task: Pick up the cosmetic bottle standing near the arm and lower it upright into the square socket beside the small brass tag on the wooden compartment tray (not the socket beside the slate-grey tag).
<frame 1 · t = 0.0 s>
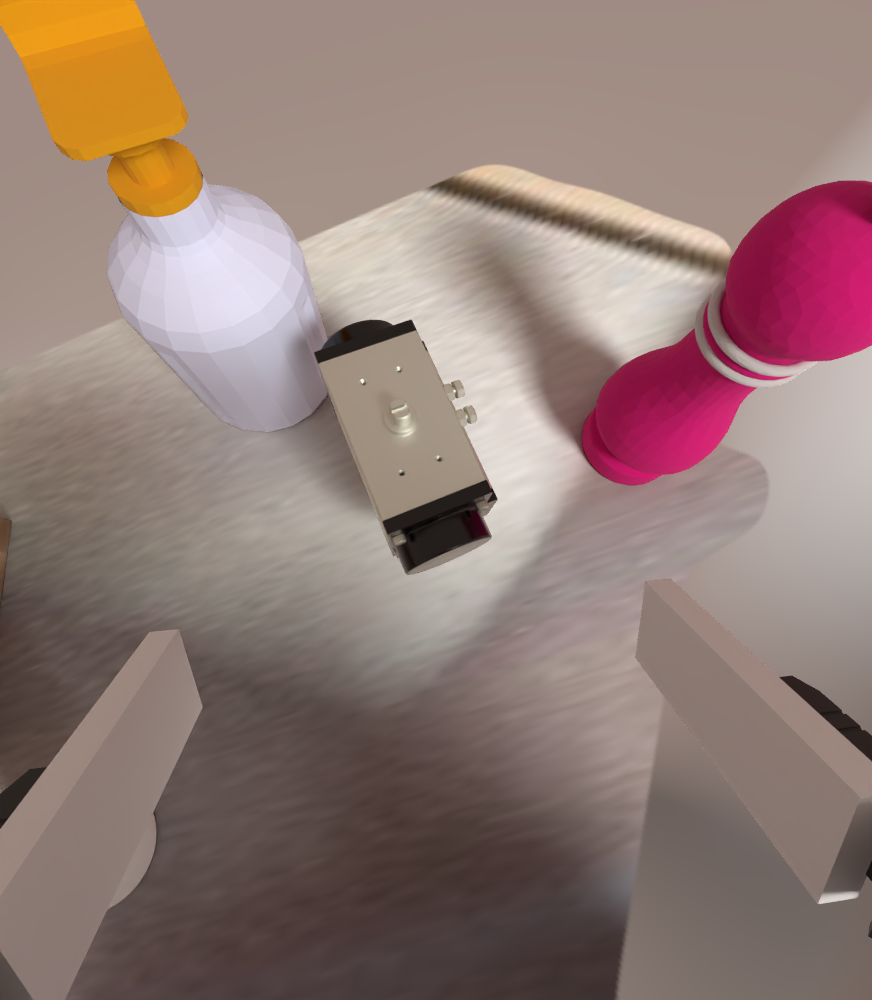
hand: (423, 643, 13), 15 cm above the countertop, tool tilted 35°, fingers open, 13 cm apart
soap bottle: (269, 375, 32), on the countertop
cosmetic bottle: (101, 841, 25), on the countertop
pepper mill: (624, 443, 32), on the countertop
pneumatic valve: (410, 489, 31), on the countertop
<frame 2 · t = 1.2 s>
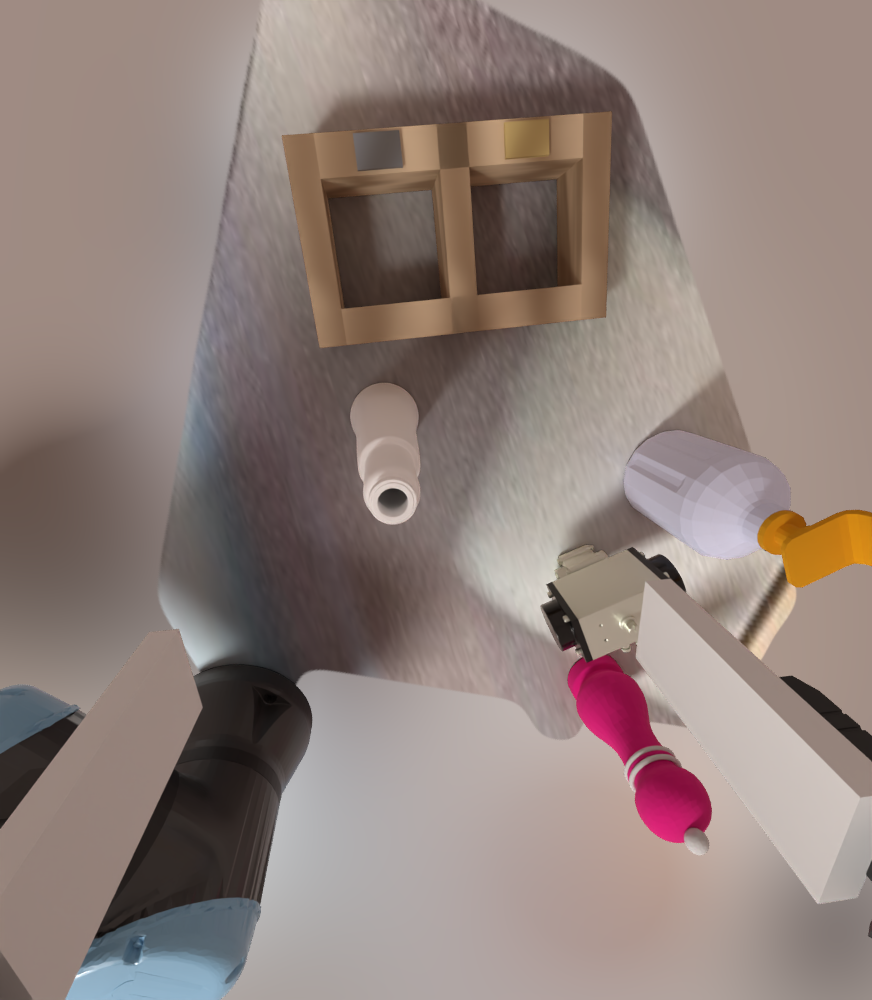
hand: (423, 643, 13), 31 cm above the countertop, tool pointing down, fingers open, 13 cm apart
soap bottle: (663, 472, 47), on the countertop
cosmetic bottle: (384, 416, 42), on the countertop
pepper mill: (591, 673, 55), on the countertop
wooden compartment tray: (449, 246, 38), on the countertop
pneumatic valve: (576, 564, 50), on the countertop
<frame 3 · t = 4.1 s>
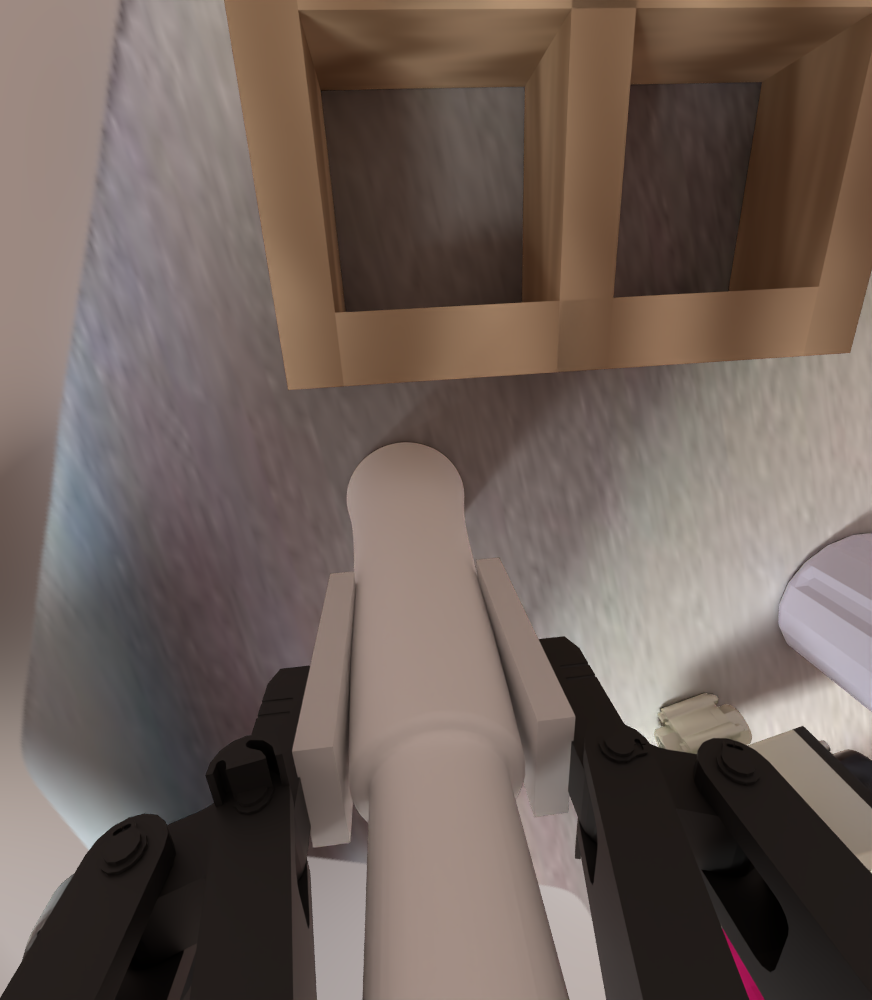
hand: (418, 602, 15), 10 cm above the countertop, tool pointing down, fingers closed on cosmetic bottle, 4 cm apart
soap bottle: (839, 592, 30), on the countertop
cosmetic bottle: (405, 496, 24), on the countertop, touching gripper
pepper mill: (682, 854, 38), on the countertop
wooden compartment tray: (546, 202, 20), on the countertop
pneumatic valve: (684, 717, 32), on the countertop
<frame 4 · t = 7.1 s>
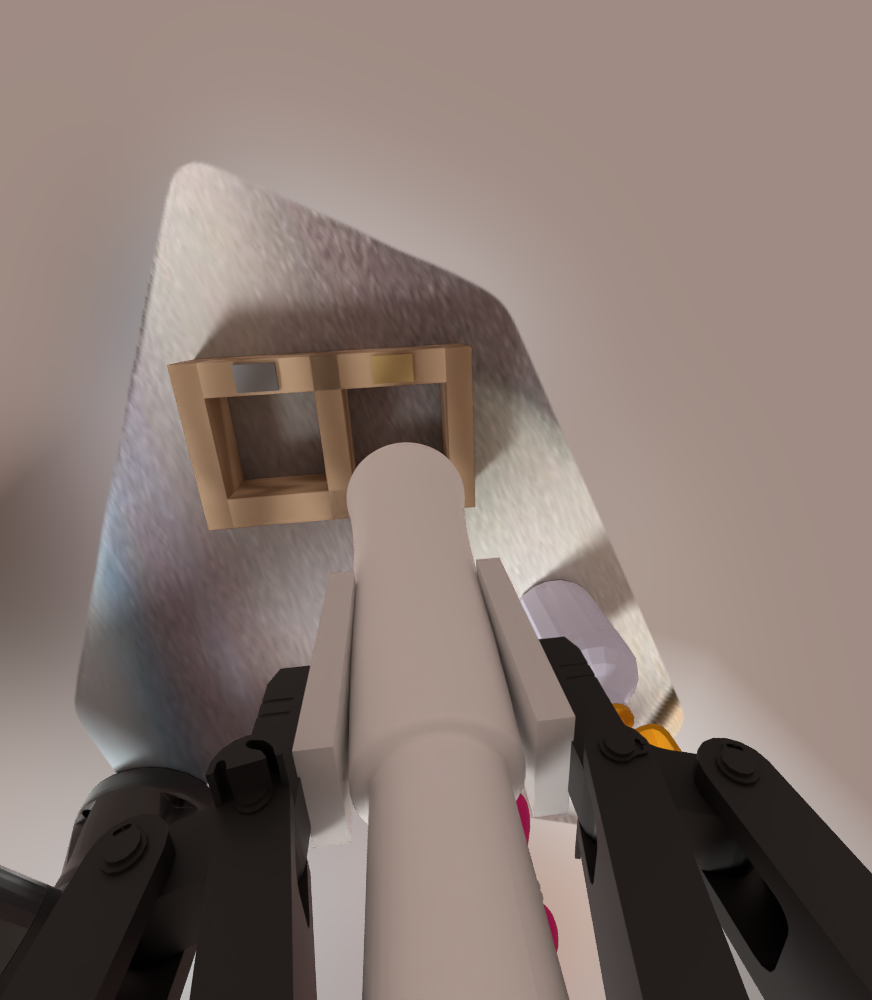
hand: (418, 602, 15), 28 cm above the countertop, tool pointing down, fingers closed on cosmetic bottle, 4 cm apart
soap bottle: (551, 613, 51), on the countertop
cosmetic bottle: (405, 496, 24), point 18 cm above the countertop, touching gripper
pepper mill: (490, 779, 59), on the countertop
wooden compartment tray: (340, 428, 41), on the countertop
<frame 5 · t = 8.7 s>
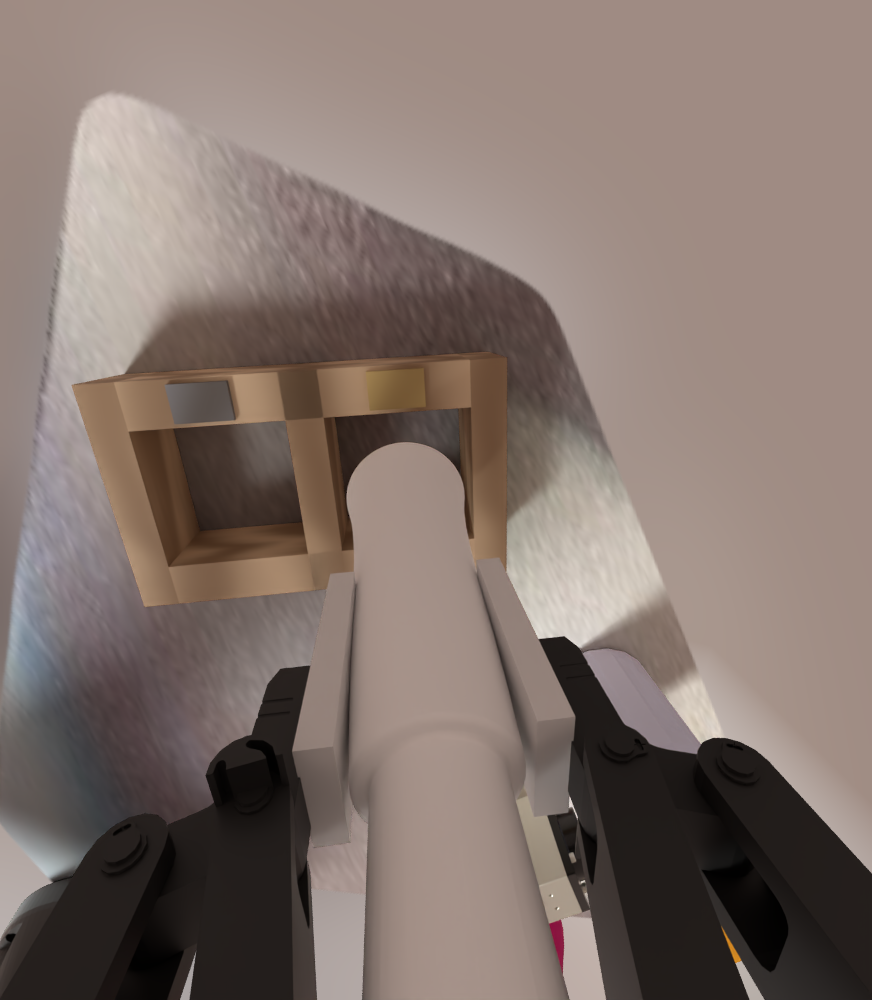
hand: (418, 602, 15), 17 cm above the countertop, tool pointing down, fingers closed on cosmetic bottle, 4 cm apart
soap bottle: (592, 686, 41), on the countertop
cosmetic bottle: (405, 496, 24), point 8 cm above the countertop, touching gripper
pepper mill: (512, 874, 49), on the countertop
wooden compartment tray: (325, 464, 31), on the countertop
pneumatic valve: (492, 774, 43), on the countertop
when the fingers open (12 cm above the countertop, at t = 10.1 s): cosmetic bottle drops 2 cm, resting in wooden compartment tray.
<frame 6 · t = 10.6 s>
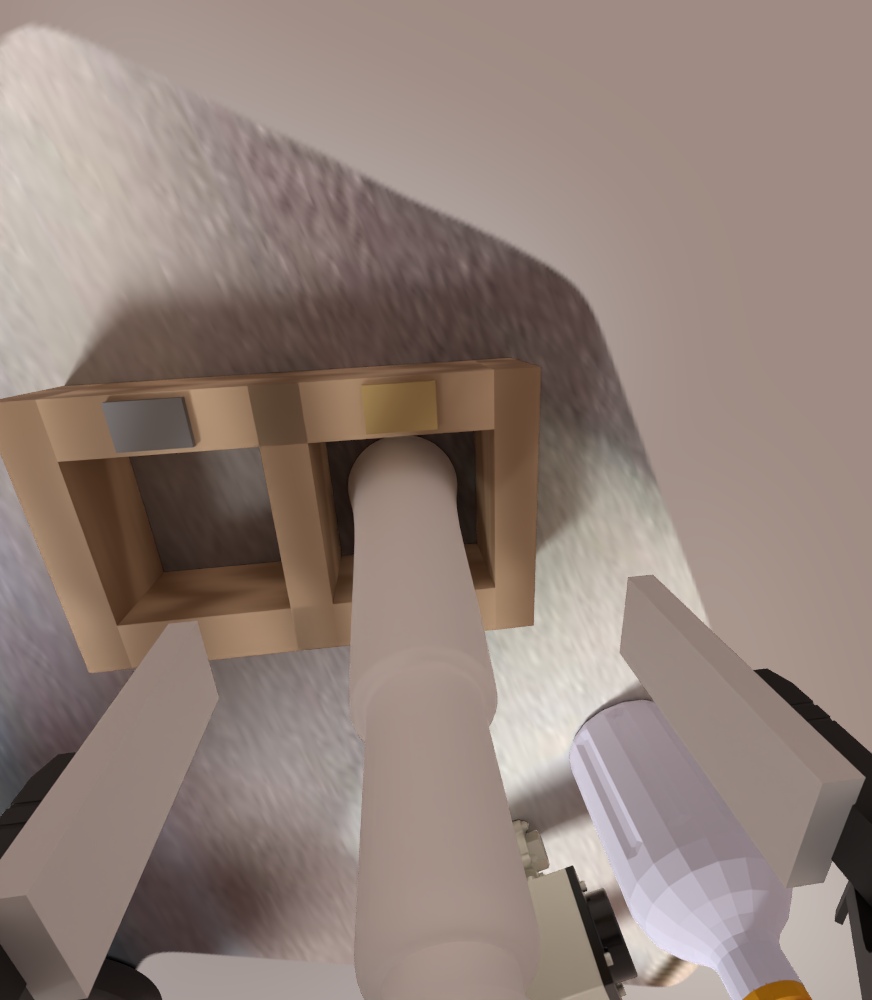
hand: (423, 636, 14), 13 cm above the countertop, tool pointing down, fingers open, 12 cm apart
soap bottle: (624, 741, 35), on the countertop
cosmetic bottle: (403, 485, 26), resting in wooden compartment tray
wooden compartment tray: (314, 493, 26), on the countertop
pneumatic valve: (507, 836, 38), on the countertop
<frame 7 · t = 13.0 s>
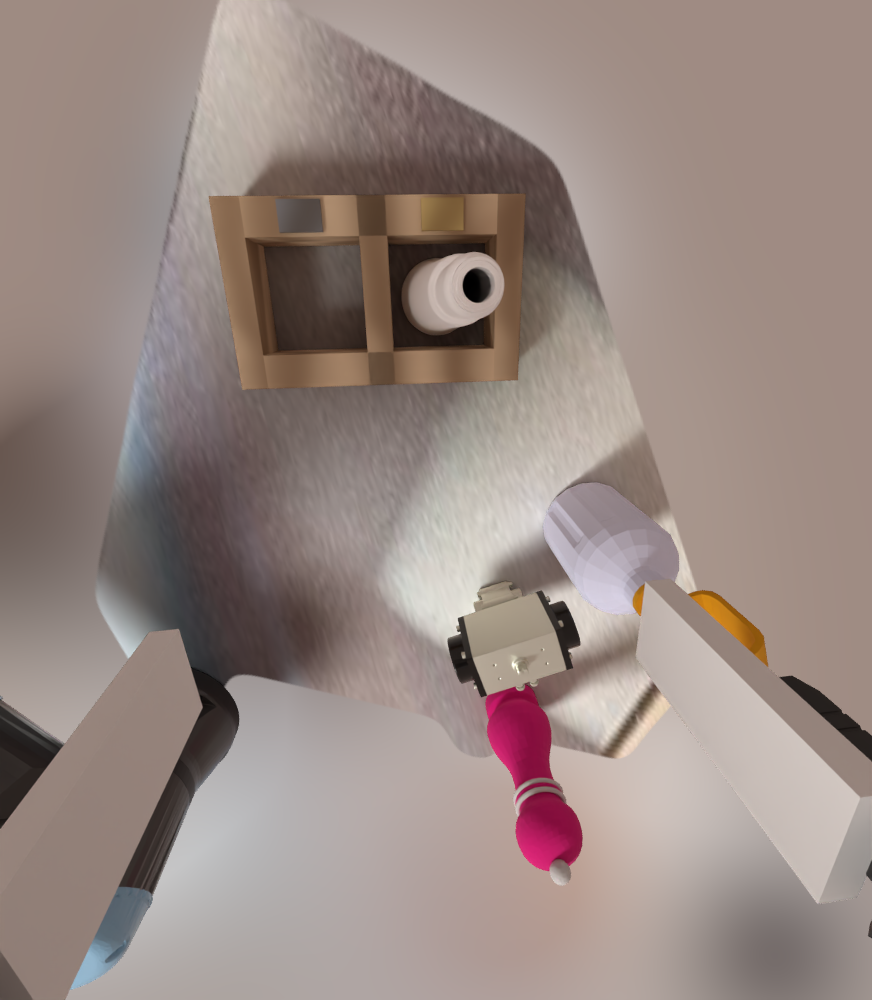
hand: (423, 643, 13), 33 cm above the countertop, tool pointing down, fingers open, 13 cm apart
soap bottle: (583, 520, 49), on the countertop
cosmetic bottle: (436, 298, 40), resting in wooden compartment tray
pepper mill: (509, 699, 58), on the countertop
wooden compartment tray: (379, 298, 40), on the countertop
pneumatic valve: (497, 597, 52), on the countertop
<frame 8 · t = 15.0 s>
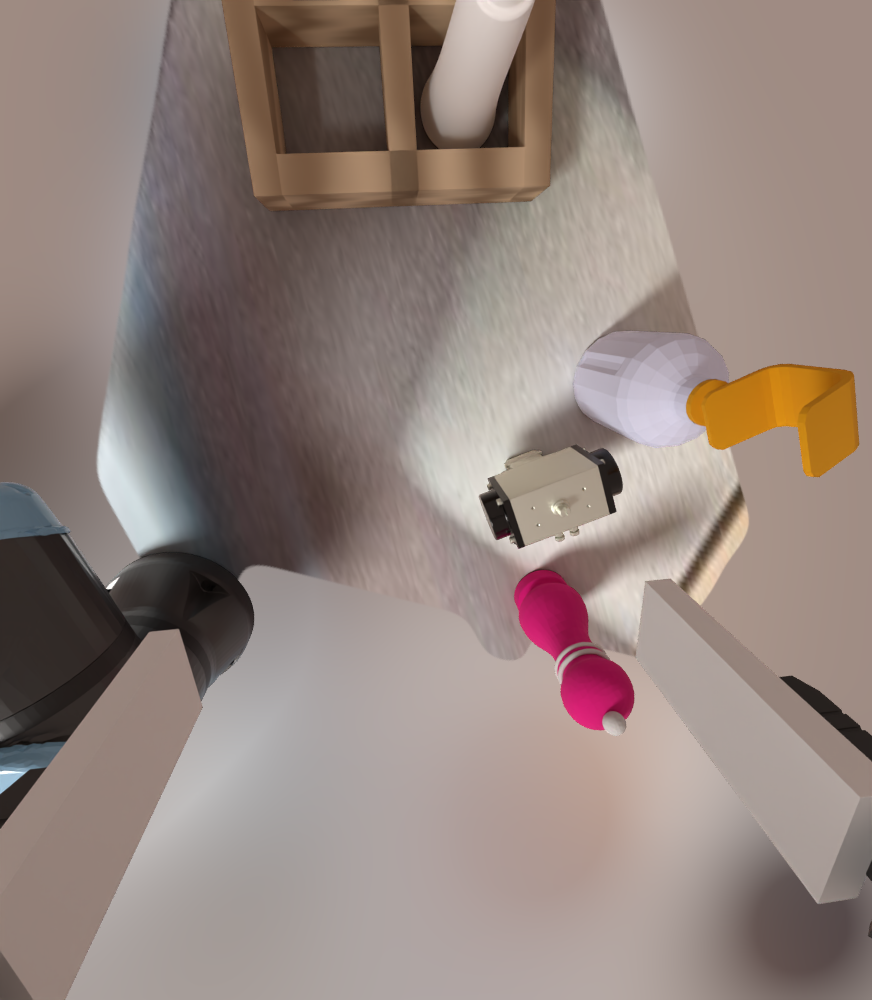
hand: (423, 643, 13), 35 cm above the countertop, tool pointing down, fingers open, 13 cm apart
soap bottle: (614, 378, 47), on the countertop
cosmetic bottle: (457, 111, 38), resting in wooden compartment tray
pepper mill: (539, 591, 55), on the countertop
wooden compartment tray: (396, 110, 37), on the countertop
pneumatic valve: (525, 471, 49), on the countertop
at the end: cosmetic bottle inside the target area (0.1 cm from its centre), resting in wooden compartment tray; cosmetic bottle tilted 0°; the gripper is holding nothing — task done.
